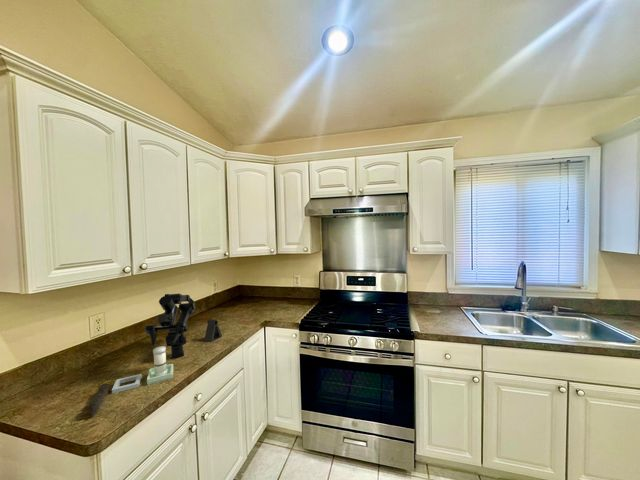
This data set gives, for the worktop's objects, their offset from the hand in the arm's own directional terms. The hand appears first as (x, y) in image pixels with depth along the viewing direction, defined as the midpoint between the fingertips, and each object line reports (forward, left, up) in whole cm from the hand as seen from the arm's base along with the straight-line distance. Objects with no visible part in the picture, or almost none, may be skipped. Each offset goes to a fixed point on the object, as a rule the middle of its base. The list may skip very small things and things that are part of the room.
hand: (162, 344), depth 133 cm
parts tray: (+4, -1, -13) cm, 14 cm away
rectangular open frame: (+5, -14, -13) cm, 20 cm away
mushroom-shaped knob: (+4, -1, -13) cm, 13 cm away
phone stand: (-32, +25, -14) cm, 43 cm away
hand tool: (+16, -22, -14) cm, 30 cm away
